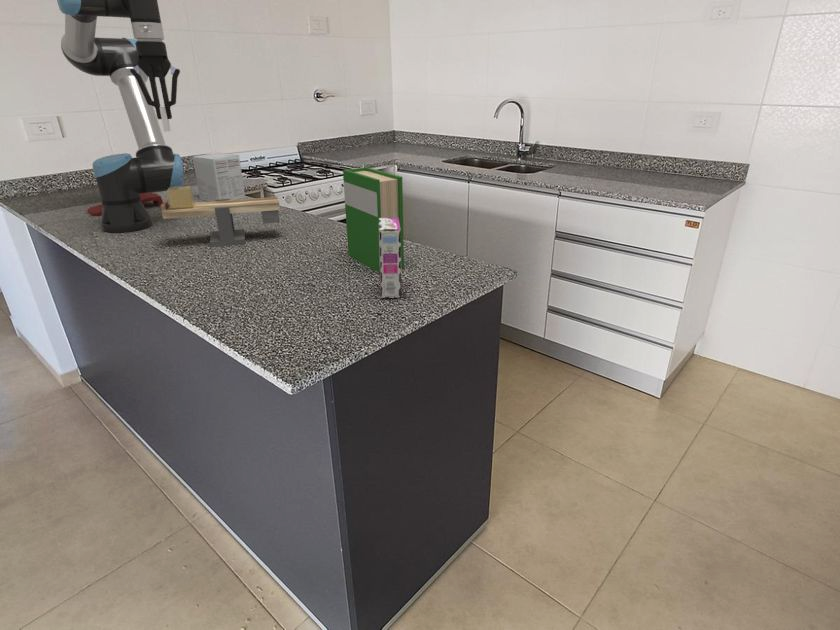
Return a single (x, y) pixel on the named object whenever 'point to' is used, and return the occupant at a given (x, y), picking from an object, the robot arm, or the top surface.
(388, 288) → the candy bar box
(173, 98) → the robot arm
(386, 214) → the hardback book
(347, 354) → the top surface
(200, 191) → the supplement box
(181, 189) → the rider
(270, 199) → the beam
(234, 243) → the pivot stand
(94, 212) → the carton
